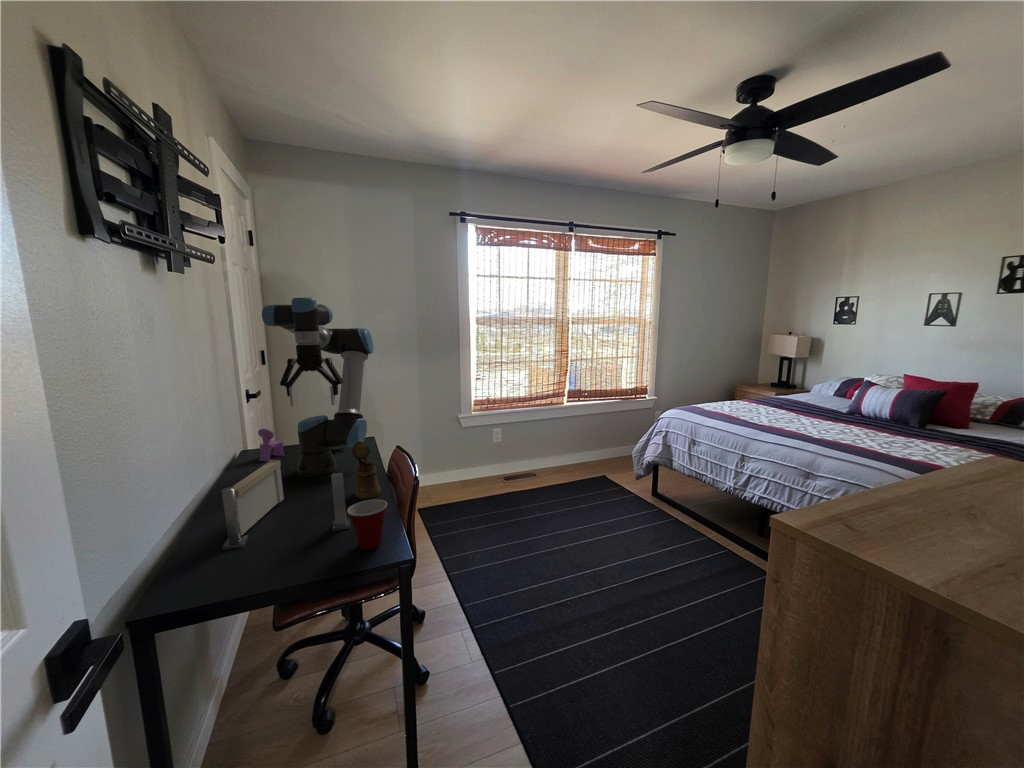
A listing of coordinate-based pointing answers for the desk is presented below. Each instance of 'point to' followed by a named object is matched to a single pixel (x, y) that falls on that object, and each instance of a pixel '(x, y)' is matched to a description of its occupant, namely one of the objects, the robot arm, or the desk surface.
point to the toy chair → (269, 445)
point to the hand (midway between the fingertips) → (314, 404)
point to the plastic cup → (368, 522)
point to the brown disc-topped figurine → (365, 473)
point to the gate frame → (239, 541)
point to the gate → (258, 494)
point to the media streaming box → (336, 449)
